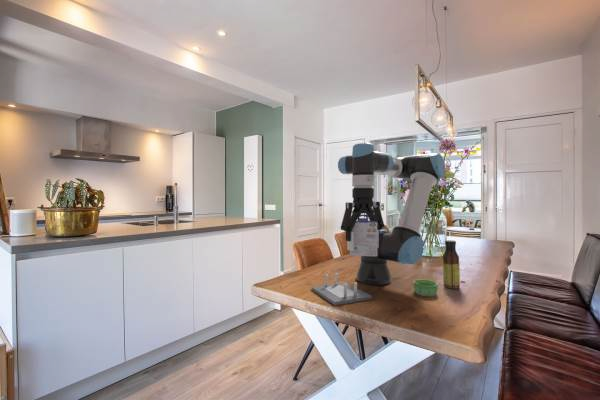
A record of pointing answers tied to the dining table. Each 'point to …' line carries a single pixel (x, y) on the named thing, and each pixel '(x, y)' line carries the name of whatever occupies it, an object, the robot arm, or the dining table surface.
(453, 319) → the dining table surface
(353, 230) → the ink cartridge box
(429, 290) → the ramekin
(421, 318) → the dining table surface
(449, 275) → the sauce bottle
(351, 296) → the pin tray
